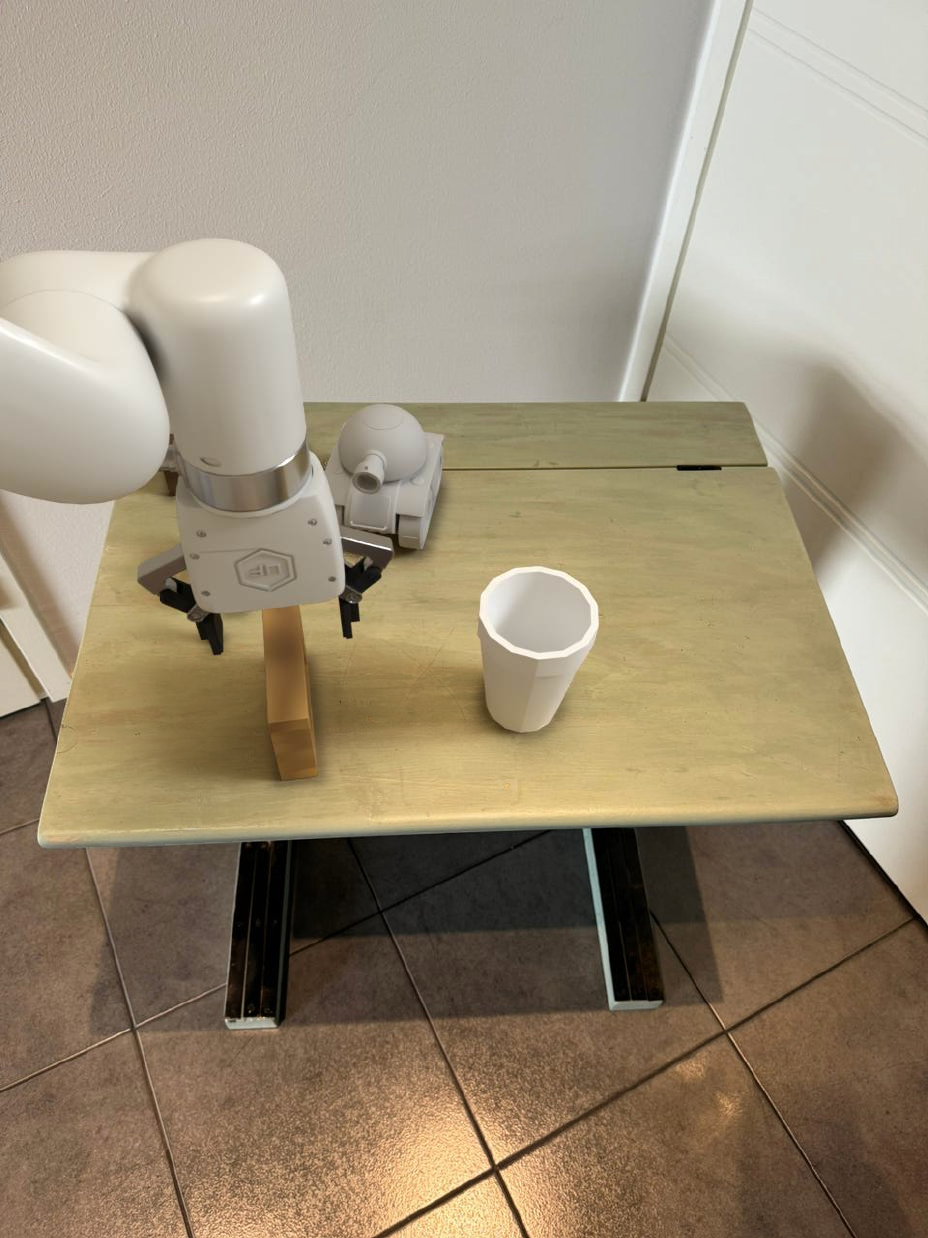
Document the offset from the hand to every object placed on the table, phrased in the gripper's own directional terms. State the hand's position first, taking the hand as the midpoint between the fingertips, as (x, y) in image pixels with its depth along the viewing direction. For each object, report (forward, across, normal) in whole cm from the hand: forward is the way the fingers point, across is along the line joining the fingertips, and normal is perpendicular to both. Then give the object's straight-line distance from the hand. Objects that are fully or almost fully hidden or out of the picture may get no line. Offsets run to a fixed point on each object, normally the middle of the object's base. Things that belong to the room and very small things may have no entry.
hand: (283, 632), depth 64 cm
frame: (+12, 0, 0) cm, 12 cm away
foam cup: (+12, +20, -2) cm, 23 cm away
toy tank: (+12, +10, +24) cm, 29 cm away
